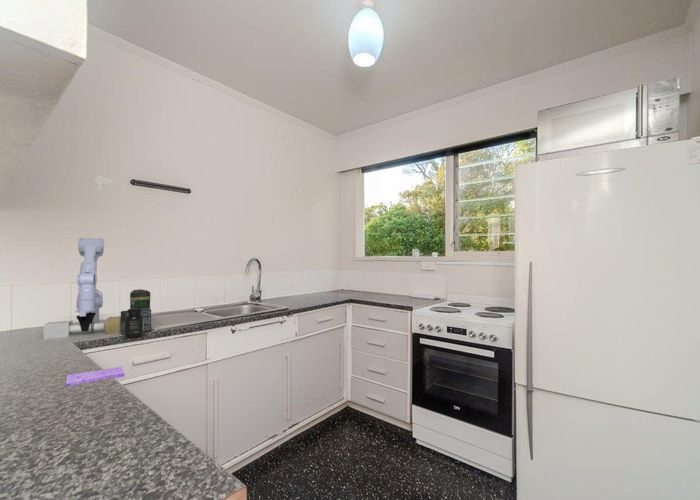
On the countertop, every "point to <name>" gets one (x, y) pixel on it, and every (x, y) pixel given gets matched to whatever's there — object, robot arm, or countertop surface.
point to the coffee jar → (140, 299)
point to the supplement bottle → (134, 323)
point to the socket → (113, 325)
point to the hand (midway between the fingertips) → (86, 330)
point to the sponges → (94, 376)
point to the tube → (92, 327)
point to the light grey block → (57, 330)
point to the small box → (147, 320)
